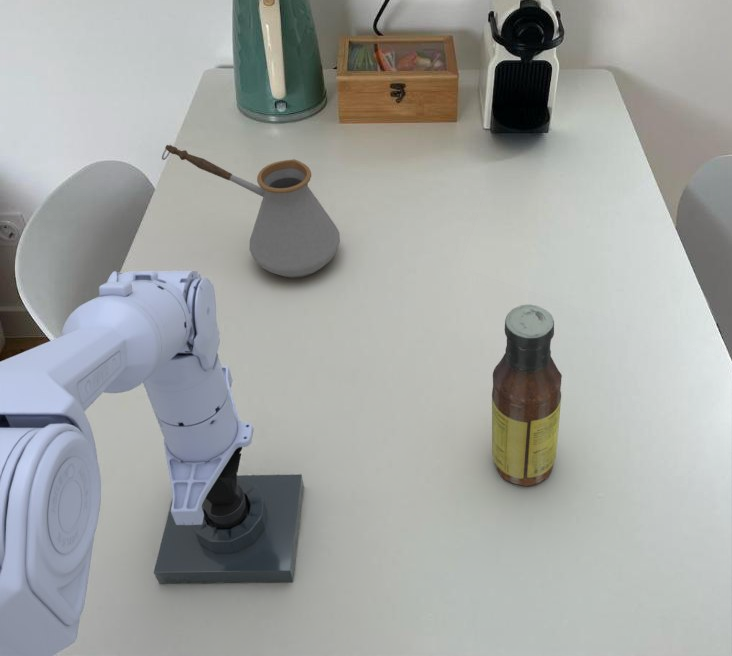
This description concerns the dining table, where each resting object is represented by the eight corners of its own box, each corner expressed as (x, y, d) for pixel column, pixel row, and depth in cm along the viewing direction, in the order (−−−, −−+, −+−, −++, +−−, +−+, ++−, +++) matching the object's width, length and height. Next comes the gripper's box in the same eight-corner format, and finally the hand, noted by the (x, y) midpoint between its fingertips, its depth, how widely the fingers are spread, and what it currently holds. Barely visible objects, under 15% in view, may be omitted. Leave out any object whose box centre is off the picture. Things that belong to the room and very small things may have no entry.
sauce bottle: (553, 439, 82) (574, 295, 69) (555, 491, 78) (578, 348, 64) (488, 435, 83) (496, 292, 69) (487, 487, 78) (495, 345, 65)
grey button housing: (304, 486, 79) (299, 461, 76) (293, 582, 72) (287, 559, 69) (182, 488, 79) (172, 463, 77) (158, 584, 72) (147, 560, 69)
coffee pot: (353, 237, 107) (343, 139, 97) (324, 294, 99) (310, 194, 89) (207, 215, 112) (183, 120, 102) (168, 268, 104) (137, 170, 94)
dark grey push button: (250, 493, 74) (246, 481, 73) (244, 528, 72) (240, 516, 70) (211, 494, 74) (207, 481, 73) (204, 529, 72) (199, 516, 70)
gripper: (226, 475, 57) (256, 572, 66) (255, 329, 68) (278, 430, 77) (126, 477, 57) (171, 574, 66) (171, 331, 68) (204, 431, 77)
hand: (223, 497), depth 72 cm, fingers closed
